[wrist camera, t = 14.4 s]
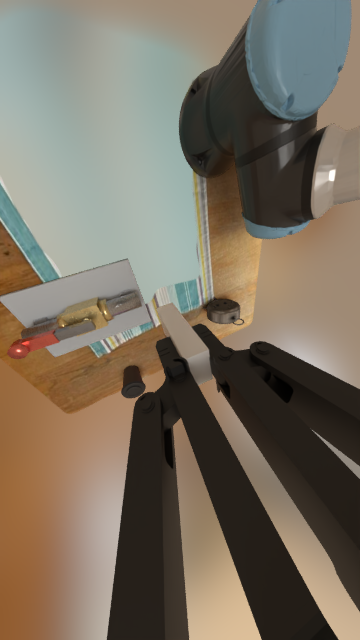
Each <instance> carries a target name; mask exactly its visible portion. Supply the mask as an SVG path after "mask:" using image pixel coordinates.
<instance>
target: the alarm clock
mask: <svg viewBox="0 0 360 640" xmlns="http://www.w3.org/2000/svg"><path fill="white" fill-rule="evenodd" d="M214 299H215V301H212V302H210V303H209V304H208V306H207V308H205V307H203V309H207V317H208V319H209V320H210V321H212V322H215V323H218V324H230V323H233V324H235V323H234V322H236V321H237V320H238V319H240V305H239V304H238V303H237V302H235V301H233V300H229V299H219V300H217V299H216V298H215V297H214ZM240 320H242V319H240ZM242 321H243V323H242V324H244V320H242ZM242 324H235V325H242Z"/></svg>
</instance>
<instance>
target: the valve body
mask: <svg viewBox="0 0 360 640" xmlns="http://www.w3.org/2000/svg"><path fill="white" fill-rule="evenodd" d="M119 294H120V296H121V297H118V298H115V299H112V300H109V301H107V300H106V299H103V300H100V299H99V297H95V298H92V299H89V300H86V301H83V302H80V303H77V304H74V305H71V306H68V307H67V308H66V310H65V311H64V313H61V314H58V315H57V318H55V319H52V320H49V319H48V318H47V317H43V318H40V319H37V320H34V321H33V322H32V323H33V324H34V326H31V327H28V328H25V329H23V330H22V332H21V336H22V338H23V339H25V338H28V337H32V336H35V335H38V334H41V333H45V332H48V331H51V330H57V329H61V328H64V327H67V326H71V325H74V324H77V323H80V322H82V320H83V319H84V318H88V319H92V320H93V322H94V323H95V325H96V330H97V329H100V328H103V327H106V326H108V324H109V321H111V320H113V319H115V317H114V316H117V315H120V314H123V313H125V312H128V311H131V310H134V309H137V308H139V307H142V304H141V302H140V299H139V297H138V294H137V292H133V293H131V291H130V289H128V290H125V291H122V292H119ZM93 331H95V330H93ZM90 332H92V331H90ZM87 333H89V332H87ZM84 334H86V333H83V334H80V335H77V337H78V336H81V335H84Z"/></svg>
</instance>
